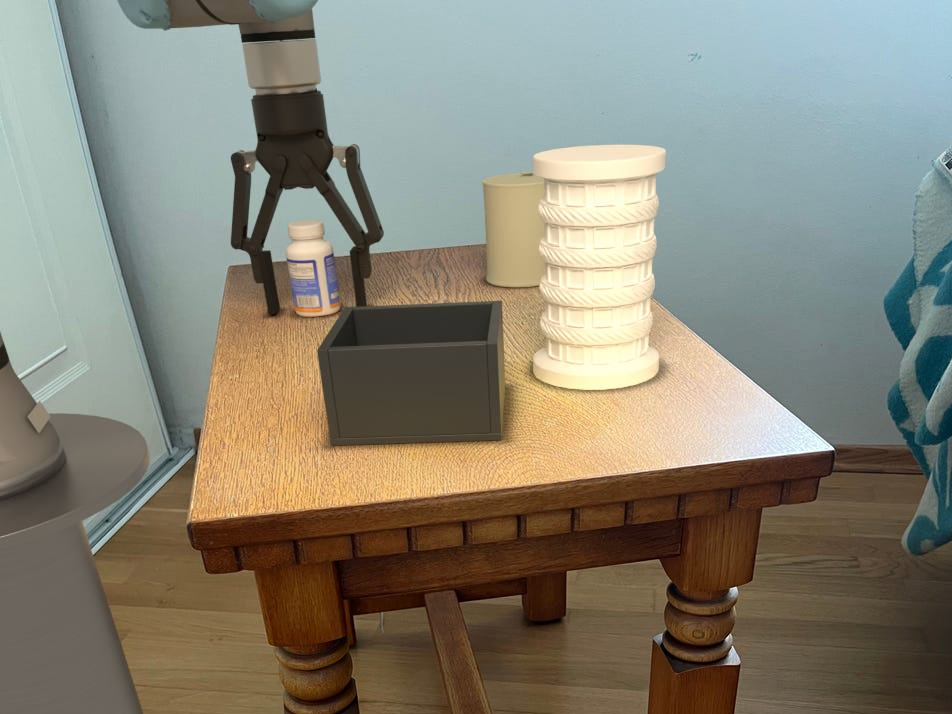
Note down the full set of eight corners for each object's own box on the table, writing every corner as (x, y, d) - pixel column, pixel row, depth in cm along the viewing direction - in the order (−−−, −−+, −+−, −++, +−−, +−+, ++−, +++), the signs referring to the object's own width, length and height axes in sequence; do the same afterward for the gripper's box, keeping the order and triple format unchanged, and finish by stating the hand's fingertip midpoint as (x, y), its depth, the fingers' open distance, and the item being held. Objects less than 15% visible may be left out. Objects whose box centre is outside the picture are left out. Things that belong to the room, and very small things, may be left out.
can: (566, 271, 121) (566, 167, 114) (549, 288, 114) (548, 179, 107) (498, 269, 124) (494, 169, 117) (477, 286, 116) (471, 180, 110)
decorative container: (669, 386, 82) (683, 157, 72) (537, 393, 82) (533, 166, 72) (647, 347, 92) (657, 140, 82) (529, 354, 92) (525, 148, 82)
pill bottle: (328, 303, 114) (316, 216, 108) (349, 311, 110) (338, 221, 104) (287, 311, 111) (273, 223, 106) (307, 320, 107) (293, 229, 102)
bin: (331, 445, 75) (316, 350, 70) (355, 393, 85) (344, 307, 81) (501, 440, 74) (497, 343, 70) (505, 387, 84) (502, 300, 80)
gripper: (396, 81, 100) (415, 297, 113) (192, 94, 102) (233, 305, 114) (387, 86, 94) (408, 313, 106) (170, 99, 96) (216, 322, 108)
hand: (317, 309), depth 110 cm, fingers open, 10 cm apart
